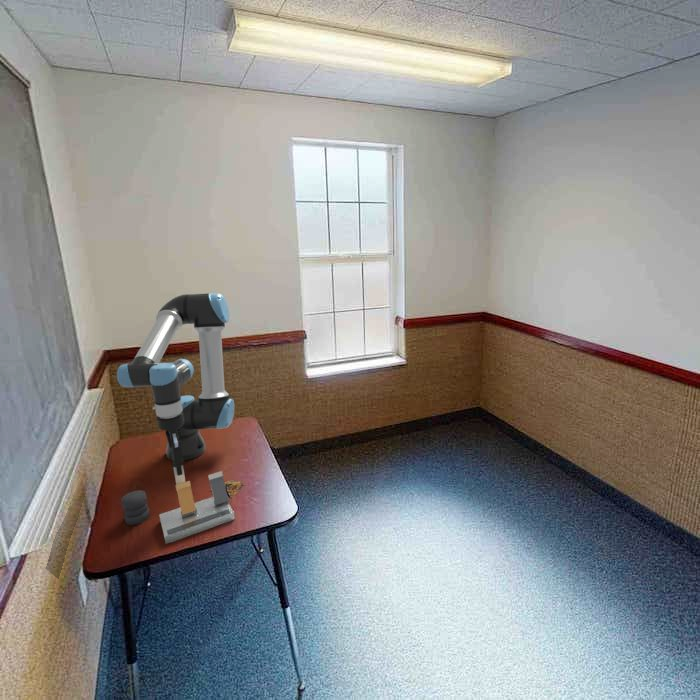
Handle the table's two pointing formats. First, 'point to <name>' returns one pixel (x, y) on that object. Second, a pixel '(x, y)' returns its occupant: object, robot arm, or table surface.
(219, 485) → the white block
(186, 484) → the paddle orange
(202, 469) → the table surface
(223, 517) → the panel
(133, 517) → the grey stacked discs
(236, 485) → the butterfly model
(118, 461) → the table surface
